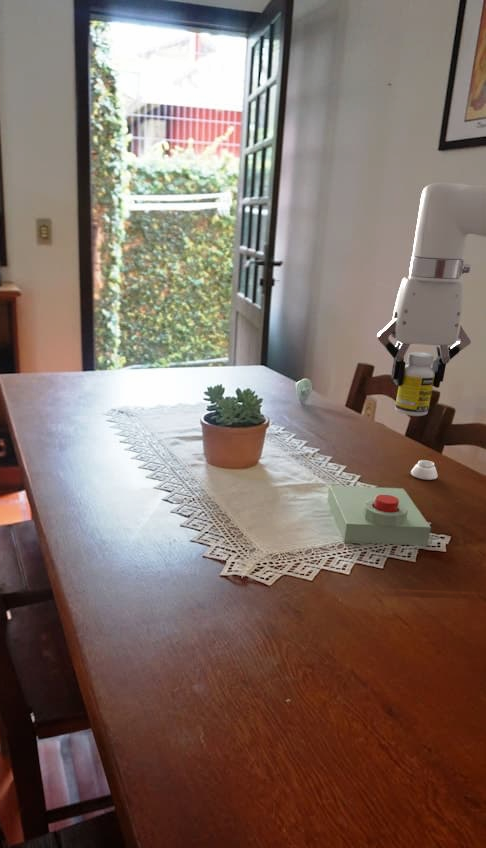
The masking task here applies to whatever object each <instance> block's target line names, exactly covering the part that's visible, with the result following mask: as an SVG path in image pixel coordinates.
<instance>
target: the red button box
mask: <svg viewBox="0 0 486 848" xmlns="http://www.w3.org/2000/svg"><path fill="white" fill-rule="evenodd" d="M378 495H390V496H394V497H396V498H398V499H399V504H398V510H397V512H393V513H390V512H382V511H378V510H376V509H375V508H374V503H375V497H376V496H378ZM327 504H328V506H329V509H330V511H332V512H331V513H332V517H333V519H334V521H335V523H336V526H337V529H338V530H339V533H340V535H341V538H342V540H343V542H344V543H354V544H355V543H358V544H377V545H378V544H380V545H381V544H382V545H403V546H404V545H405V546H428V544H429V540H430V534H431V529H432V526H430V524H429V523H428V521H427V520H426V519H425V517H424V516H423V514H422V512H421V511H420V510H419V508H418V507H417V506H416V504H415V503H414V502H413V500H412V499H411V497H410V496H409V494H408V493H407V491H406V490H405V488H402V487H401V488H400V487H399V488H398V487H377V486H376V487H375V486H352V485H351V486H350V485H333V484H332V485H331V484H330V485H329V487H328V496H327Z"/></svg>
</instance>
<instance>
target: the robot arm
mask: <svg viewBox="0 0 486 848" xmlns="http://www.w3.org/2000/svg"><path fill="white" fill-rule="evenodd" d="M468 235H472V236H475V237H479V238H486V184H485V185H469V184H466V183H458V182H432V183H430V184H428V185H426V186H425V187H424V188H423V190H422V192H421V196H420V203H419V210H418V216H417V223H416V228H415V236H414V243H413V248H412V249H413V250H412V256H411V261H410V267H409V274H408V277H407V276H406V277H403V278H402V280H401V283H400V287H399V290H398V293H397V297H396V300H395V306H394V309H393V315H392V318H391V320H390V322H388V324H387V325H386V326H385V327H384V328H383V329H382V330H380V331H379V332H378V333H377V335H376V337H375V338H376V339H377V340H378V342H379V343H380V344H381V345H382V346H383V347H384V348H385V349H386V351H387V352H388V353H389V355H390V356H391V357H392V358H393V361H392V368H391V375H390V378H391V380H393V383H394V384H395V385H396V386H397V387H399V386H401V385H402V383H403V376H404V370H405V366H406V361H405V355H406V353H407V352H408V350H409V348H410V346H411V345H420V346H421V345H422V346H435V352H436V358H435V359H433V363H432V365H431V368H432V369H433V370H434V371H435V377H434V382H433V388H435V389H436V388H437V389H439V388H440V385H441V383H443V381H444V378H445V372H446V366H447V364H449V363H450V361H451V360H452V359H453V358H454V357H456V356H457V355H458V354H459V353H460V352H461V351H463V350H464V349H465V348H467V347H469V346H470V345H471V343H472V340H471V338H470V337H469V335H468V334H467V332H466V331H465V329H464V327H463V325H462V315H463V304H464V303H463V301H464V285H463V283H464V282H463V281H462V280H460V278H461V277H462V275H464V274H469V273H470V271H471V264H469V263H466V262H465V260H464V255H465V254H464V253H465V248H466V242H467V239H468ZM390 337H391V338H393V339H394V340H396V341H397V342H396V345H395V344H394V343H392V341H391V339H390Z"/></svg>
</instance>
